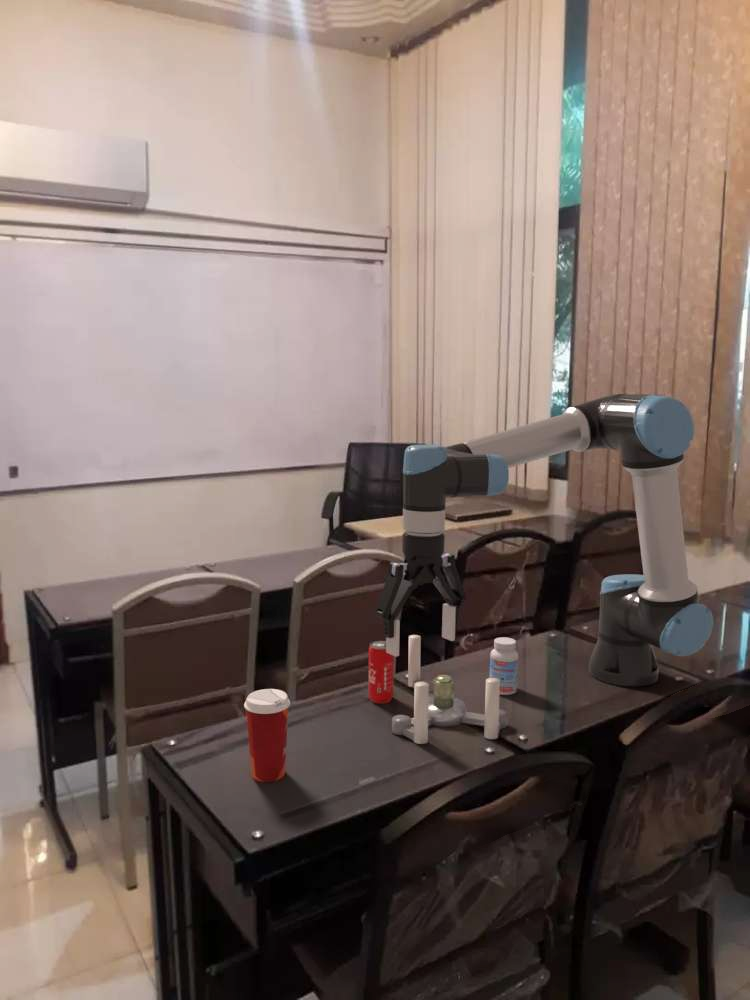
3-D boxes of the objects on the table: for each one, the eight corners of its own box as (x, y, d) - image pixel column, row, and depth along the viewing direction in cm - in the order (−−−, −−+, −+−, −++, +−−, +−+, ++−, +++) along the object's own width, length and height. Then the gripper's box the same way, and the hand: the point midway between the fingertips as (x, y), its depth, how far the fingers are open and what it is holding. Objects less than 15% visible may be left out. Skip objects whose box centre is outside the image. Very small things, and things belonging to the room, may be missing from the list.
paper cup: (300, 773, 134) (299, 695, 132) (265, 790, 129) (264, 710, 126) (270, 758, 139) (269, 683, 137) (235, 774, 134) (233, 696, 131)
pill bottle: (486, 693, 168) (488, 643, 166) (491, 683, 174) (493, 634, 172) (515, 697, 166) (516, 646, 164) (519, 686, 172) (521, 637, 170)
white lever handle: (443, 694, 167) (444, 644, 165) (430, 698, 165) (431, 647, 163) (416, 681, 174) (416, 633, 172) (403, 685, 172) (404, 636, 170)
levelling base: (471, 696, 167) (472, 659, 165) (491, 726, 153) (493, 686, 151) (394, 700, 164) (394, 663, 163) (407, 731, 150) (407, 690, 149)
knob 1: (388, 730, 150) (388, 674, 148) (402, 724, 152) (402, 670, 151) (418, 746, 144) (418, 689, 142) (432, 741, 146) (433, 684, 144)
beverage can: (390, 705, 162) (391, 649, 160) (366, 703, 163) (366, 647, 161) (395, 695, 167) (395, 641, 165) (371, 693, 168) (371, 639, 166)
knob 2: (490, 719, 155) (492, 665, 153) (508, 722, 154) (510, 668, 152) (480, 737, 147) (481, 681, 145) (499, 741, 146) (500, 684, 144)
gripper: (458, 521, 150) (455, 627, 153) (354, 536, 135) (354, 654, 138) (487, 527, 144) (483, 638, 148) (382, 544, 129) (380, 667, 132)
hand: (421, 646), depth 143 cm, fingers open, 13 cm apart
